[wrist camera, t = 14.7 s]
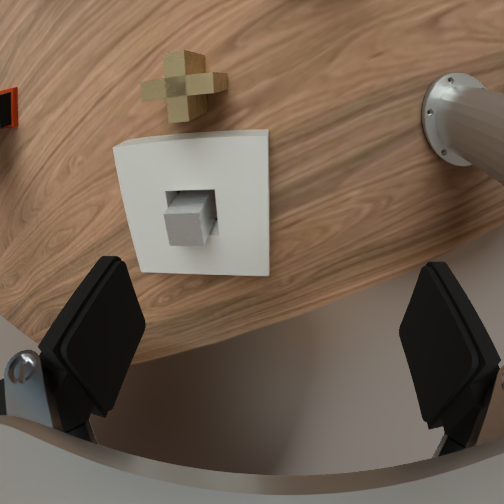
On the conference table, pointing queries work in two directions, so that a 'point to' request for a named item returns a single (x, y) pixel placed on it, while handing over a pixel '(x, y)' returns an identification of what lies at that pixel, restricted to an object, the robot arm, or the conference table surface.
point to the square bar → (190, 217)
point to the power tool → (8, 108)
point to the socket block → (199, 178)
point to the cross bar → (184, 85)
